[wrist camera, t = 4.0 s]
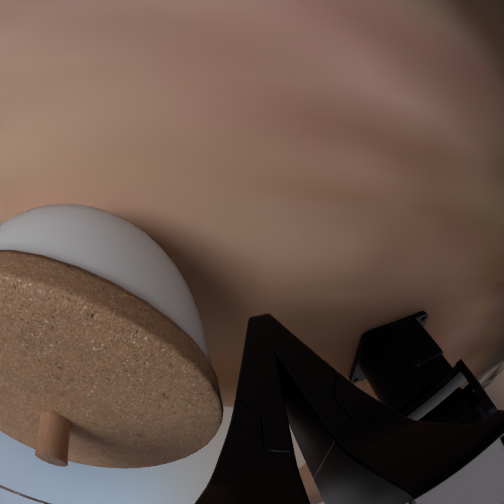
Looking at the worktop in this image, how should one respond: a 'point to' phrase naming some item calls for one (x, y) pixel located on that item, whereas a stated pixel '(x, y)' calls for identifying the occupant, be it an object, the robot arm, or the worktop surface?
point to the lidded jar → (100, 343)
